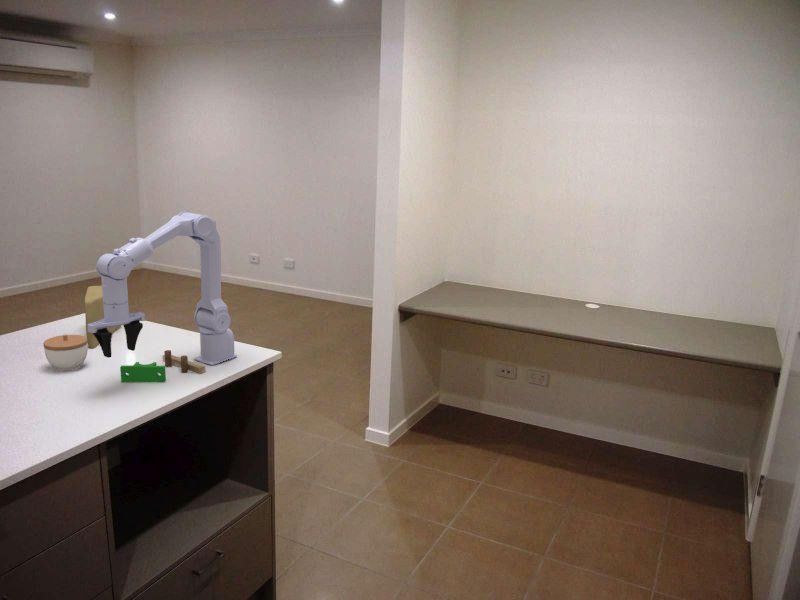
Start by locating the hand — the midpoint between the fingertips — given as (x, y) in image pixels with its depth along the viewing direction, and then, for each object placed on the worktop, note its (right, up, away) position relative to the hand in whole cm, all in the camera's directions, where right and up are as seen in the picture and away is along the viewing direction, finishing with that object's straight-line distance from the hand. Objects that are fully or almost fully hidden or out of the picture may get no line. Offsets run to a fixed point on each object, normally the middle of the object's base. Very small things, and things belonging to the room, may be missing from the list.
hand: (119, 353), depth 155 cm
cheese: (-25, +1, +39) cm, 46 cm away
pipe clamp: (+3, -8, +8) cm, 12 cm away
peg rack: (+9, -6, +17) cm, 20 cm away
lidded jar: (-21, -5, +14) cm, 26 cm away
